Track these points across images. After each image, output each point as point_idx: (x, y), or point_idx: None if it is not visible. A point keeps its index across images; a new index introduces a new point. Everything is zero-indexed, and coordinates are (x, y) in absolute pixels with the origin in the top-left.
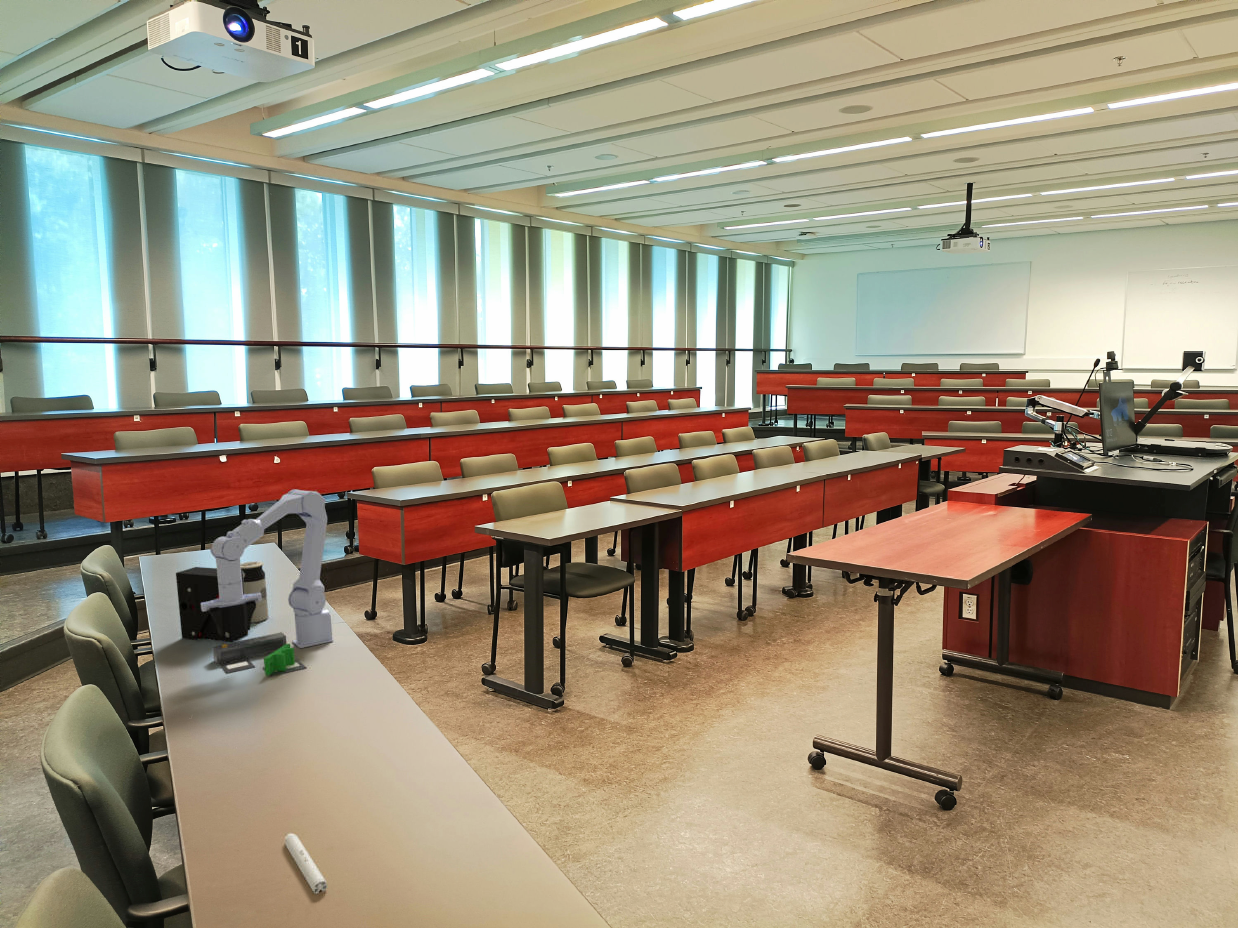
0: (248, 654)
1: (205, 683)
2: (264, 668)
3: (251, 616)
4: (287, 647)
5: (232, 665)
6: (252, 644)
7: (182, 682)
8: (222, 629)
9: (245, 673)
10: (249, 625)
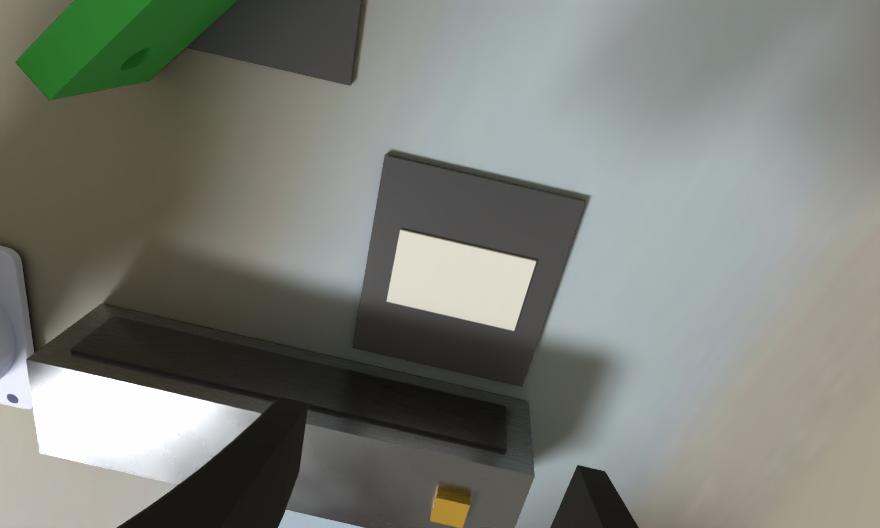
0: (335, 371)
1: (800, 124)
2: (351, 43)
3: (146, 515)
4: (65, 25)
5: (483, 303)
6: None
7: (858, 286)
8: (606, 522)
9: (496, 78)
10: (254, 429)
